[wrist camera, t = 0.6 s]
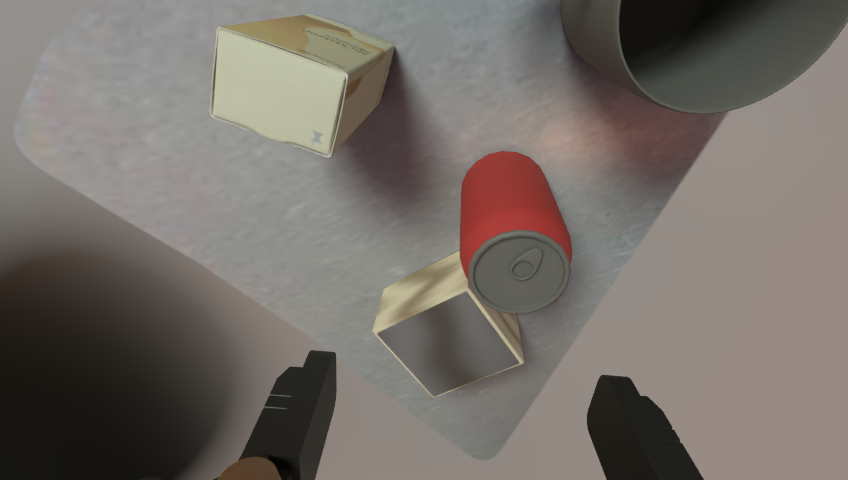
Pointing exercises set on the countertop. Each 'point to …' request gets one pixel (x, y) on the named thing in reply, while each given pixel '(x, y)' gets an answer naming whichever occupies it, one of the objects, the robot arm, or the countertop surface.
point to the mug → (702, 46)
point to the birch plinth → (446, 329)
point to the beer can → (512, 235)
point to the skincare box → (298, 79)
